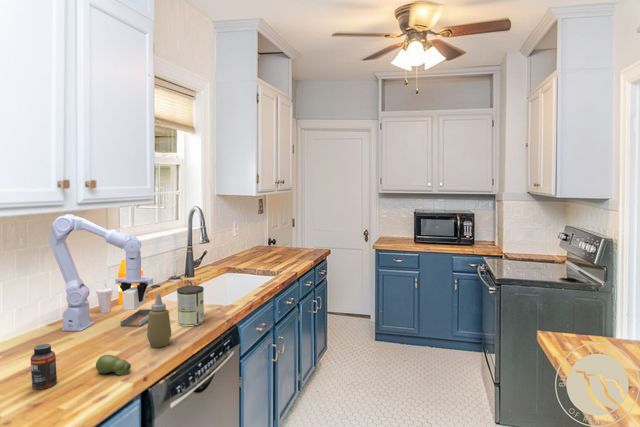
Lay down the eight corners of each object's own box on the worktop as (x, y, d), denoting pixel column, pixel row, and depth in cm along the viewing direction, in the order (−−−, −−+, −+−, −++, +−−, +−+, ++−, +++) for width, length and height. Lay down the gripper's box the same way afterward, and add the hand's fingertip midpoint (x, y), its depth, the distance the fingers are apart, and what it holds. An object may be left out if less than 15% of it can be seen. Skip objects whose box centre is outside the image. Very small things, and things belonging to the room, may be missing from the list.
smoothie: (106, 314, 187) (105, 282, 186) (93, 313, 188) (92, 281, 187) (116, 310, 193) (115, 278, 192) (103, 309, 194) (102, 278, 193)
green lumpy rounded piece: (104, 350, 134) (135, 356, 133) (101, 366, 134) (132, 373, 134) (93, 357, 128) (125, 364, 128) (90, 374, 129) (123, 381, 128)
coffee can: (178, 319, 180) (177, 286, 179) (204, 317, 183) (203, 284, 182) (176, 327, 170) (176, 292, 169) (204, 325, 173) (203, 290, 172)
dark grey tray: (140, 326, 171) (140, 321, 171) (120, 326, 172) (120, 320, 172) (157, 314, 187) (157, 309, 187) (139, 313, 188) (138, 308, 188)
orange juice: (137, 304, 202) (136, 261, 201) (118, 304, 202) (117, 261, 201) (144, 299, 210) (143, 258, 209) (125, 299, 210) (124, 258, 208)
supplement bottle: (58, 378, 127) (56, 340, 126) (55, 387, 121) (53, 348, 120) (34, 382, 124) (32, 343, 124) (29, 391, 119) (27, 351, 118)
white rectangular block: (134, 309, 172) (133, 292, 171) (123, 309, 172) (122, 292, 171) (145, 302, 182) (145, 286, 181) (135, 302, 182) (134, 285, 181)
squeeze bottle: (142, 348, 149) (141, 297, 148) (154, 340, 157) (153, 291, 156) (164, 350, 148) (163, 298, 147) (175, 341, 156) (174, 291, 155)
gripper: (155, 266, 179) (156, 298, 180) (121, 265, 180) (122, 298, 181) (147, 269, 172) (148, 303, 173) (112, 269, 173) (113, 303, 174)
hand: (134, 301), depth 177 cm, fingers closed on white rectangular block, 4 cm apart
